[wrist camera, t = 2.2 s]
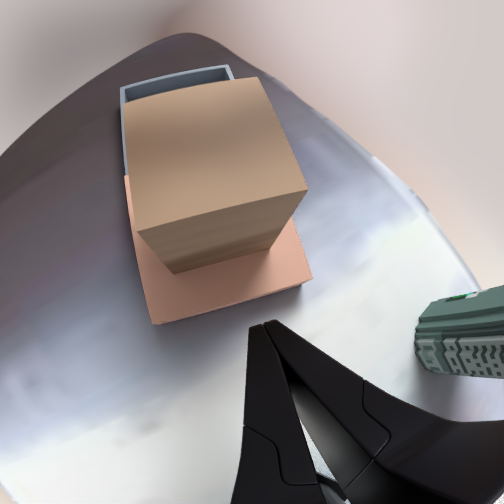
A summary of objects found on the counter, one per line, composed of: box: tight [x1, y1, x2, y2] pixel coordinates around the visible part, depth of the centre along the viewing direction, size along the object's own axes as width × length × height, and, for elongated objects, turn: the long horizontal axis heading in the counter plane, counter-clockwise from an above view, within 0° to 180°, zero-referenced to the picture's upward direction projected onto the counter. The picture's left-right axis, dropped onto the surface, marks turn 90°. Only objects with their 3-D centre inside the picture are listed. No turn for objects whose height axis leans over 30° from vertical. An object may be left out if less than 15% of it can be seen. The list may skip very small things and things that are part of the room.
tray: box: [120, 65, 235, 175], centre depth 21 cm, size 10×10×2 cm
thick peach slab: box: [124, 175, 313, 324], centre depth 19 cm, size 10×10×2 cm
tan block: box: [123, 77, 308, 275], centre depth 14 cm, size 6×6×8 cm
